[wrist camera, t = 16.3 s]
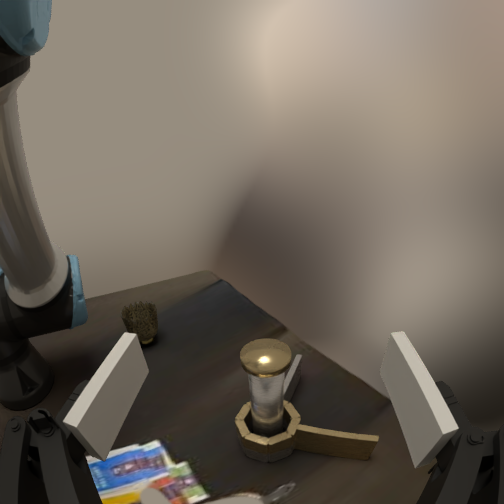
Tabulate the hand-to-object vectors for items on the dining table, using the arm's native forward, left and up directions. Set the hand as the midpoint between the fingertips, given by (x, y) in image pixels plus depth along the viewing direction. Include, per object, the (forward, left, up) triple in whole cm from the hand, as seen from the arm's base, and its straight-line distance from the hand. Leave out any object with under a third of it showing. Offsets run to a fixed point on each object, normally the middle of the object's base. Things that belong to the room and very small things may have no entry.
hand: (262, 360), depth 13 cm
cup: (-10, +39, -24) cm, 47 cm away
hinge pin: (+4, +9, -24) cm, 26 cm away
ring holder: (+7, +9, -24) cm, 26 cm away
